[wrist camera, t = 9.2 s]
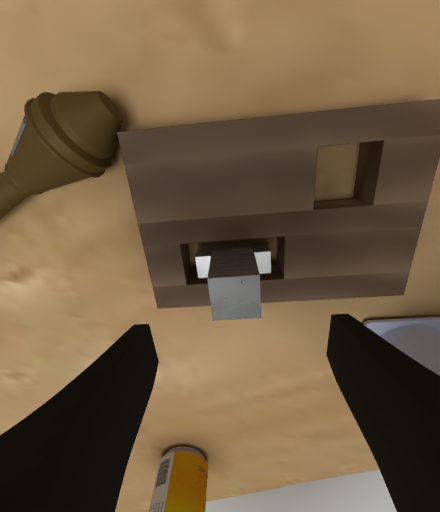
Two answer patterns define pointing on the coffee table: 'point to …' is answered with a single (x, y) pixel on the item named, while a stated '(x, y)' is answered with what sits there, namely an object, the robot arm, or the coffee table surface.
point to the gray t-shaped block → (234, 275)
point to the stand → (286, 199)
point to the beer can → (180, 482)
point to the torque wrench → (59, 144)
